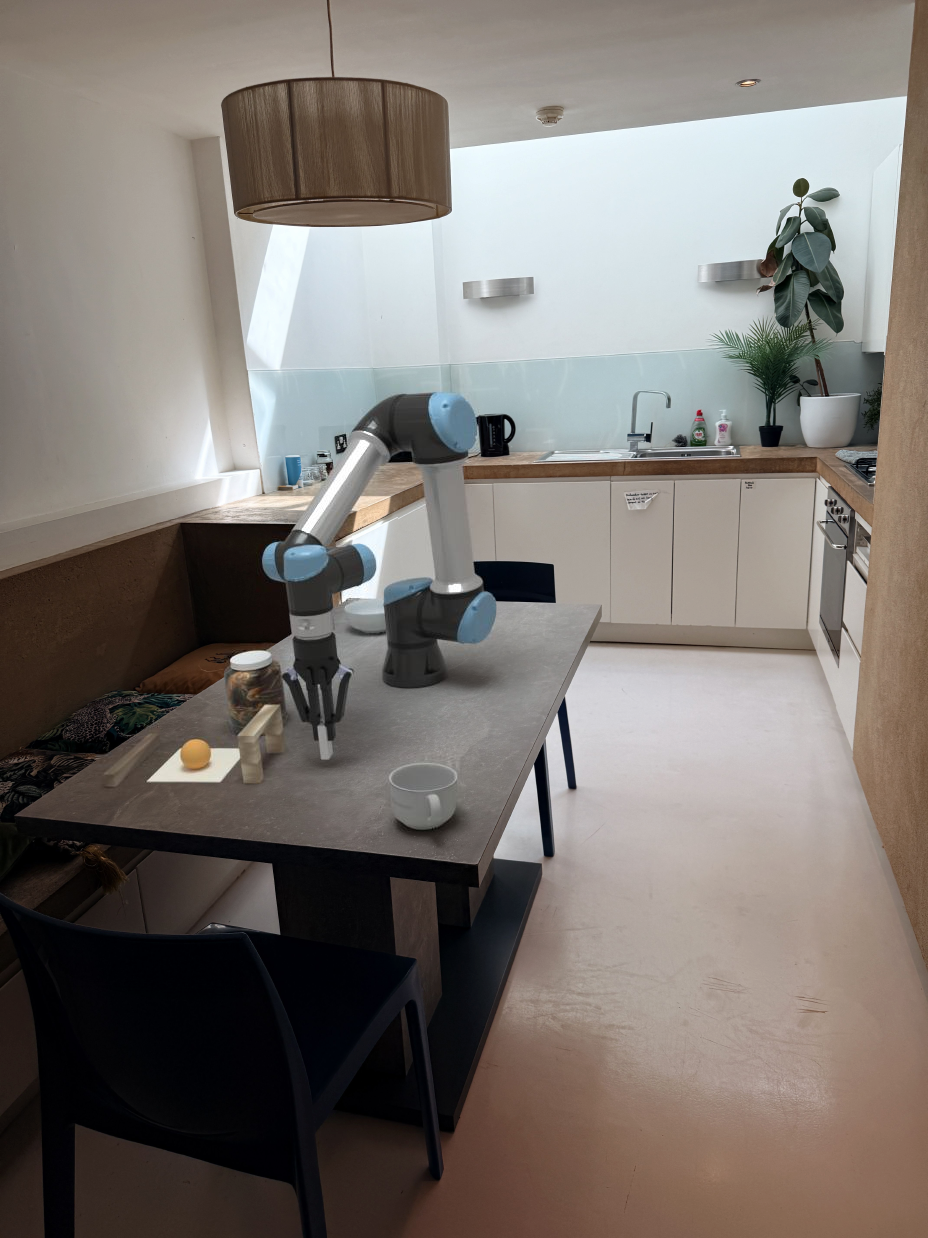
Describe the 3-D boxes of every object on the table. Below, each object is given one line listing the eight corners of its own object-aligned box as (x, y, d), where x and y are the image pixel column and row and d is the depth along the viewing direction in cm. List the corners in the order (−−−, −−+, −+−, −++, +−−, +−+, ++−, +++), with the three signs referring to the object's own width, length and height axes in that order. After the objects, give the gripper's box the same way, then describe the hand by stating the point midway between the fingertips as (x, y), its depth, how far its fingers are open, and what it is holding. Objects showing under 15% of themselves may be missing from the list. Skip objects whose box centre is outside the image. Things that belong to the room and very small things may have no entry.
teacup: (392, 807, 144) (388, 763, 142) (457, 801, 145) (454, 757, 143) (392, 851, 131) (388, 803, 129) (464, 844, 131) (461, 797, 129)
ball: (182, 739, 165) (192, 765, 166) (171, 750, 159) (182, 777, 161) (208, 731, 164) (219, 757, 165) (198, 742, 159) (209, 769, 160)
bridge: (285, 748, 169) (280, 704, 166) (259, 783, 155) (253, 735, 153) (270, 748, 169) (265, 704, 167) (243, 783, 156) (237, 736, 153)
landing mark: (248, 749, 170) (248, 748, 170) (220, 782, 156) (220, 781, 156) (180, 749, 172) (180, 748, 172) (146, 782, 158) (146, 781, 158)
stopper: (160, 745, 174) (158, 733, 173) (115, 787, 157) (113, 774, 156) (151, 745, 174) (149, 733, 174) (105, 787, 157) (102, 774, 157)
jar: (226, 721, 185) (217, 654, 180) (281, 710, 189) (273, 644, 185) (235, 741, 174) (225, 670, 170) (293, 729, 178) (285, 660, 174)
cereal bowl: (403, 637, 235) (401, 612, 233) (342, 640, 236) (339, 615, 234) (408, 619, 252) (406, 596, 250) (351, 622, 252) (348, 599, 250)
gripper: (271, 641, 151) (286, 765, 157) (344, 639, 149) (356, 765, 156) (284, 628, 158) (298, 747, 165) (354, 627, 156) (366, 747, 163)
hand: (326, 756), depth 160 cm, fingers closed
